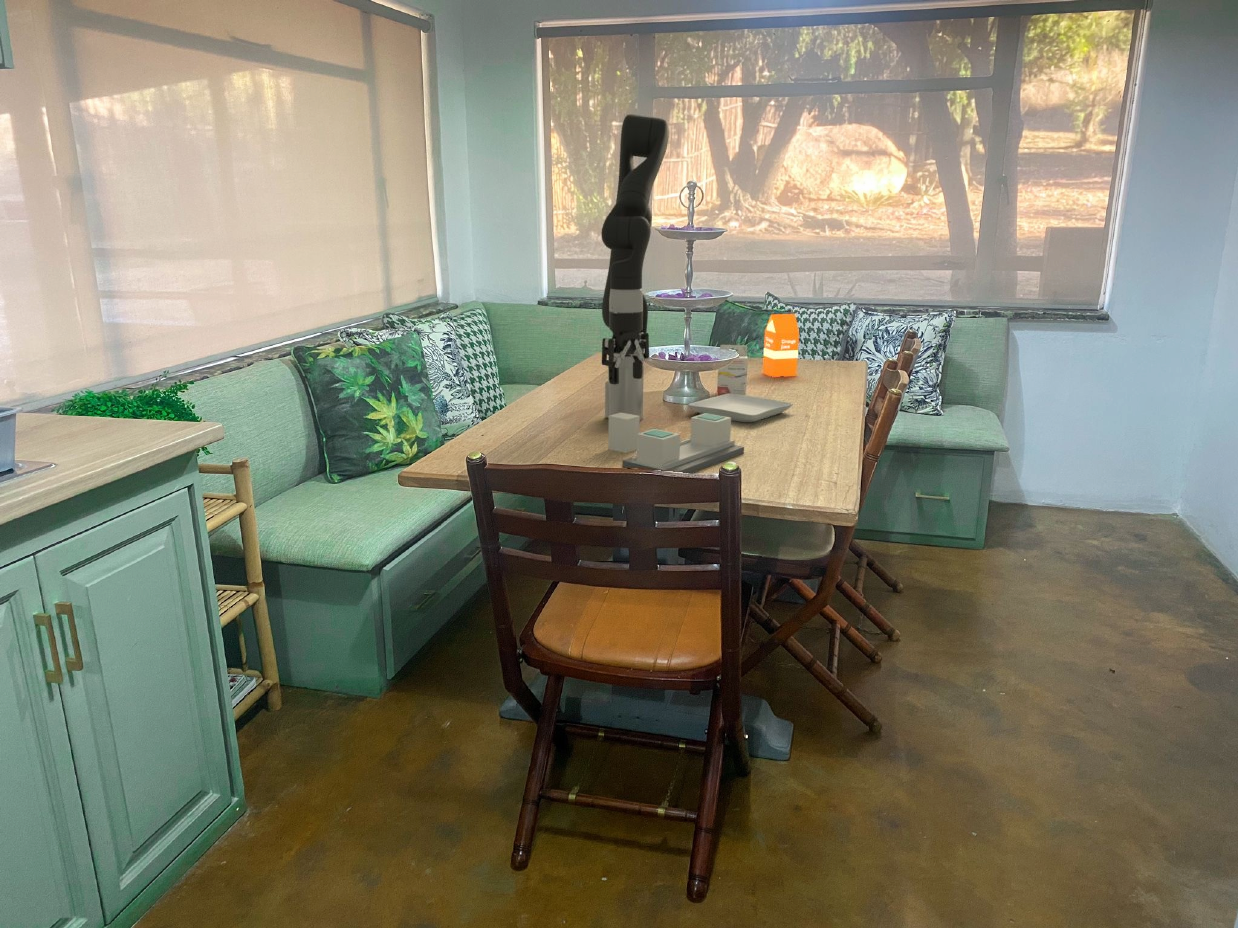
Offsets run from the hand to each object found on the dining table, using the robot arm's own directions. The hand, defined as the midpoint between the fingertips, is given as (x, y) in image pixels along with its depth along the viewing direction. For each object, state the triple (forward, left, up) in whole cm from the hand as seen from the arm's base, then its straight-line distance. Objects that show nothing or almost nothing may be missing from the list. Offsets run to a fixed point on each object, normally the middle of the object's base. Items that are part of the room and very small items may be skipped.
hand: (625, 381), depth 204 cm
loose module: (0, 0, -16) cm, 16 cm away
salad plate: (+1, +49, -17) cm, 52 cm away
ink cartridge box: (-14, +68, -16) cm, 71 cm away
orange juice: (-20, +107, -16) cm, 110 cm away
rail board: (+16, +2, -16) cm, 23 cm away
